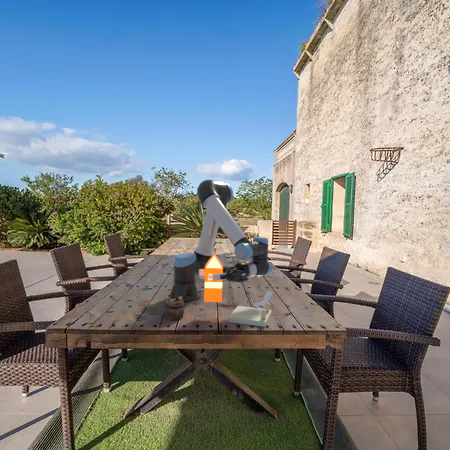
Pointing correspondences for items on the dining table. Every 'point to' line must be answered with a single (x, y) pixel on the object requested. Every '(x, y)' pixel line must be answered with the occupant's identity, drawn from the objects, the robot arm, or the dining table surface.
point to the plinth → (251, 315)
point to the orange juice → (213, 287)
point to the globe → (239, 262)
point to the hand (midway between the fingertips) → (205, 275)
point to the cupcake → (174, 307)
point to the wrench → (264, 300)
